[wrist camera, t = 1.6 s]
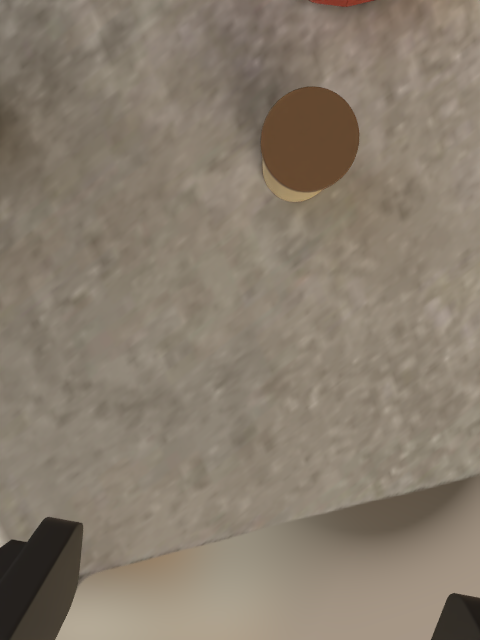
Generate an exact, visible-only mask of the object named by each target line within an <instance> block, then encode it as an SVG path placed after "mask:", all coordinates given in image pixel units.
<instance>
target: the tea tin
mask: <svg viewBox="0 0 480 640" xmlns="http://www.w3.org/2000/svg"><path fill="white" fill-rule="evenodd" d="M358 145H359V128H358V123H357V120H356V117H355V115H354V113H353V111H352V109H351V107H350V106H349V104H348V103H347V102H346V101H345V100H344V99H343V98H342V97H340V96H339V95H338V94H336V93H335V92H333V91H330V90H328V89H325V88H321V87H304V88H300V89H296V90H294V91H292V92H290V93H288V94H286V95H285V96H283V97H282V98H281V99H280V100H278V101H277V102H276V104H275V105H274V106H273V107H272V108H271V110H270V111H269V113H268V115H267V117H266V119H265V121H264V124H263V128H262V132H261V153H262V158H263V176H264V179H265V182H266V184H267V186H268V187H269V189H270V190H271V191H272V192H273V193H274V194H275V195H276V196H277V197H279V198H281V199H283V200H286V201H290V202H300V201H305V200H308V199H310V198H312V197H313V196H315V195H316V194H318V193H319V192H320V191H322V190H323V189H325V188H328V187H329V186H331V185H333V184H334V183H335V182H337V181H338V180H339V179H341V178H342V177H343V176H344V175H345V173H346V172H347V171H348V170H349V168H350V167H351V165H352V163H353V161H354V159H355V157H356V154H357V150H358Z"/></svg>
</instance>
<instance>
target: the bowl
mask: <svg viewBox="0 0 480 640" xmlns="http://www.w3.org/2000/svg"><path fill="white" fill-rule="evenodd" d="M309 1H311V2H313V3H318V4H326V5H334V6H342V7H345V6H346V7H348V6H352V5H357V4H361V3H365V2H370V1H374V0H309Z"/></svg>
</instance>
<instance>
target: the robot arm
mask: <svg viewBox="0 0 480 640" xmlns="http://www.w3.org/2000/svg"><path fill="white" fill-rule="evenodd" d="M82 537H83V524H82V523H79V522H73V521H68V520H63V519H57V518H52V517H46V518H45V519H44V520H43V521H42V522H41V524H40V525H39V526H38V528H37V529H36V531H35V532H34V533H33V535H32V536H31V538H30V539H29V540H28V542H23V541H17V540H10V541H9V542H8V543H6V544H5V545H3V546H2V547H1V548H0V640H55V639H56V637H57V635H58V632H59V630H60V628H61V626H62V624H63V622H64V620H65V618H66V616H67V614H68V612H69V609H70V607H71V604H72V601H73V599H74V595H75V592H76V588H77V584H78V579H79V569H80V558H81V548H82ZM431 640H480V598H477V597H472V596H467V595H461V594H455V593H453V594H451V595H449V597H448V598H447V600H446V603H445V606H444V608H443V611H442V613H441V616H440V618H439V621H438V623H437V626H436V628H435V631H434V633H433V637H432V639H431Z"/></svg>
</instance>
